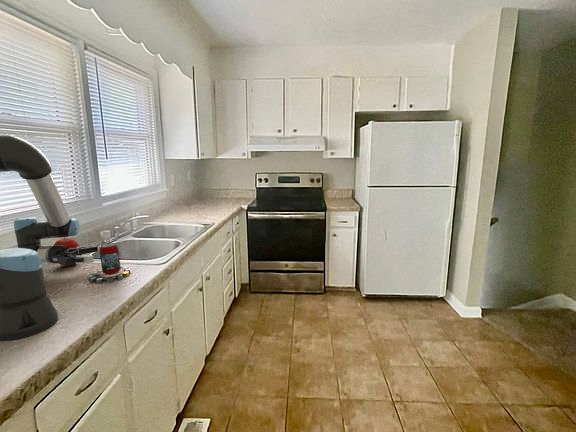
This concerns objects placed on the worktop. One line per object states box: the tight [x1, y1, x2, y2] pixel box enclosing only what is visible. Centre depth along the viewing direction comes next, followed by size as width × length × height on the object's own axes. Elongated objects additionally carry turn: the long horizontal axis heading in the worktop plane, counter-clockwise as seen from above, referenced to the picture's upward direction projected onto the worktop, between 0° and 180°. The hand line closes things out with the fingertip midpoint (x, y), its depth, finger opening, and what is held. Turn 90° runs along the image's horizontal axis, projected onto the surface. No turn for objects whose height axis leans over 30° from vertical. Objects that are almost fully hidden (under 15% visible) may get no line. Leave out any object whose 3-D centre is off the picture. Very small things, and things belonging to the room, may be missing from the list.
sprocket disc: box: [88, 265, 131, 284], centre depth 133 cm, size 15×15×2 cm
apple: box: [53, 237, 81, 267], centre depth 147 cm, size 10×10×14 cm
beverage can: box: [99, 242, 121, 275], centre depth 132 cm, size 7×7×12 cm
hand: (103, 253), depth 132 cm, fingers open, 13 cm apart
